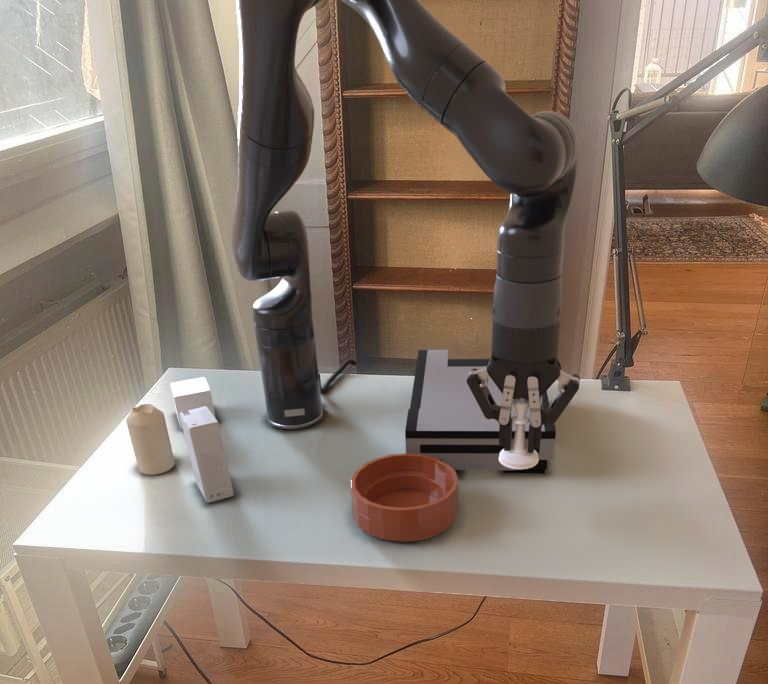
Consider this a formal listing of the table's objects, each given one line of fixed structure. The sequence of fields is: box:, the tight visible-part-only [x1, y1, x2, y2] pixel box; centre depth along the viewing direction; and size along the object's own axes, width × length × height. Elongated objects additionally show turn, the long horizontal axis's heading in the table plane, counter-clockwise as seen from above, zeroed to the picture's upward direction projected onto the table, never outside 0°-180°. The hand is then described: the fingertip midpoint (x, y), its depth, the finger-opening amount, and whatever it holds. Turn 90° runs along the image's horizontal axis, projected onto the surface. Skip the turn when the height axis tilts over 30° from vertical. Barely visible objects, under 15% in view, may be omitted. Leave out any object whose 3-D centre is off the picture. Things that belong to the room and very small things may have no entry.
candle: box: [125, 403, 175, 476], centre depth 119 cm, size 6×6×10 cm
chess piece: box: [499, 398, 539, 470], centre depth 95 cm, size 5×5×10 cm
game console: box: [404, 349, 557, 475], centre depth 124 cm, size 21×32×8 cm, turn 175°
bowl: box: [350, 452, 459, 542], centre depth 106 cm, size 14×14×6 cm
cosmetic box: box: [180, 406, 235, 503], centre depth 111 cm, size 6×4×12 cm
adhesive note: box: [169, 376, 217, 430], centre depth 133 cm, size 6×6×6 cm
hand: (519, 448), depth 97 cm, fingers closed on chess piece, 2 cm apart
